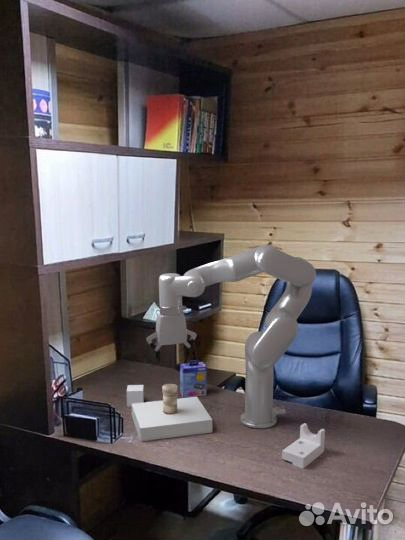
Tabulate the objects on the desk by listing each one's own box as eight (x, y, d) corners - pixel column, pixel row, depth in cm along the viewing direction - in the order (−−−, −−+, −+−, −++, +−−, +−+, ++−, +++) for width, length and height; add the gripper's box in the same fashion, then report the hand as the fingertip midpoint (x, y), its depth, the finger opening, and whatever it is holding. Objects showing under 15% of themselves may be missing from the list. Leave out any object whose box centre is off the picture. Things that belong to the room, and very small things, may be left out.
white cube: (126, 406, 203) (126, 391, 202) (128, 400, 209) (127, 385, 208) (143, 406, 203) (142, 390, 202) (143, 399, 209) (143, 384, 208)
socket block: (196, 408, 201) (196, 396, 200) (212, 432, 182) (212, 419, 181) (131, 415, 194) (131, 403, 194) (140, 441, 175) (140, 428, 175)
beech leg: (176, 418, 191) (175, 383, 189) (179, 424, 186) (179, 388, 184) (161, 420, 190) (160, 384, 188) (164, 426, 185) (164, 390, 183)
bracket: (303, 445, 173) (304, 423, 172) (324, 452, 169) (324, 429, 168) (282, 461, 164) (282, 437, 162) (303, 469, 159) (303, 445, 158)
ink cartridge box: (182, 398, 210) (182, 362, 207) (179, 393, 215) (178, 358, 212) (207, 395, 213) (207, 360, 210) (203, 390, 218) (203, 355, 215)
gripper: (192, 306, 188) (193, 353, 191) (143, 310, 184) (145, 358, 186) (198, 311, 181) (199, 360, 184) (147, 315, 176) (149, 366, 179)
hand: (172, 359), depth 185 cm, fingers open, 9 cm apart
